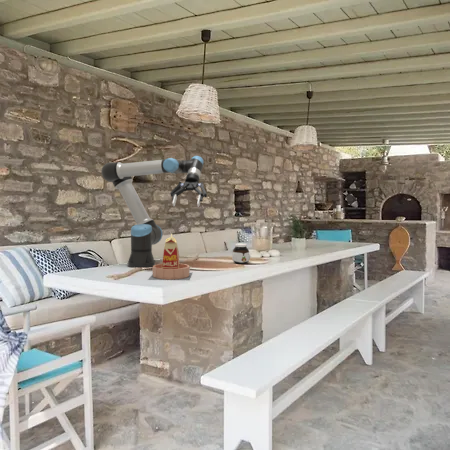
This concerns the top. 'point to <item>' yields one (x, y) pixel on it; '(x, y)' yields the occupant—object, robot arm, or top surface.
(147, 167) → the robot arm
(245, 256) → the spread jar
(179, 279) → the placemat
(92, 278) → the top surface
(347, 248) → the top surface
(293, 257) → the top surface
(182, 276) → the bowl
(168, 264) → the milk carton
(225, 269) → the top surface
